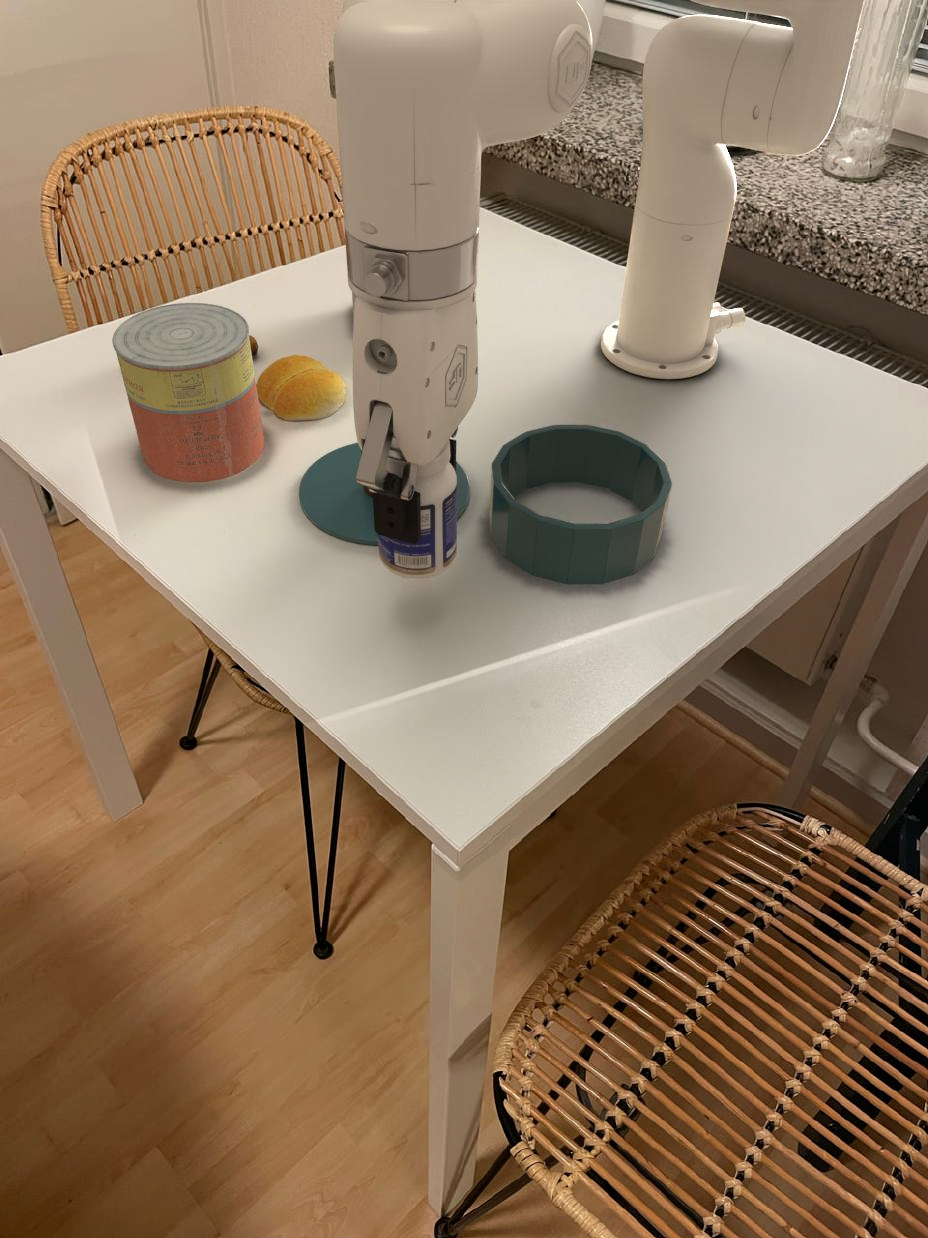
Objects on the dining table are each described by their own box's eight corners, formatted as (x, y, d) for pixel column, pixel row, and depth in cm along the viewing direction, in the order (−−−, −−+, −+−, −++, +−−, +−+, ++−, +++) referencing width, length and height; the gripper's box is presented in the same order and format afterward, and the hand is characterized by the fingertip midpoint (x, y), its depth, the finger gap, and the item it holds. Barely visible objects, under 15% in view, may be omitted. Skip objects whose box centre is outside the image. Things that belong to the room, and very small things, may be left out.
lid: (430, 435, 92) (429, 373, 87) (497, 524, 82) (501, 461, 77) (279, 470, 87) (270, 407, 83) (332, 569, 77) (325, 504, 73)
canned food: (187, 409, 94) (163, 293, 86) (288, 434, 91) (273, 316, 83) (117, 470, 87) (83, 349, 78) (225, 499, 84) (202, 377, 75)
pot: (603, 468, 88) (612, 410, 84) (691, 561, 79) (706, 501, 75) (462, 505, 84) (463, 445, 80) (538, 608, 75) (544, 547, 70)
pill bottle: (424, 522, 73) (423, 409, 66) (472, 561, 70) (476, 445, 63) (362, 552, 70) (354, 437, 63) (409, 593, 67) (406, 477, 60)
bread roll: (295, 435, 91) (291, 399, 88) (246, 397, 96) (240, 361, 93) (365, 406, 95) (363, 370, 92) (314, 370, 100) (310, 335, 97)
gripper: (414, 335, 48) (418, 600, 60) (521, 213, 59) (506, 456, 72) (281, 308, 49) (312, 571, 62) (410, 195, 61) (414, 435, 74)
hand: (416, 507), depth 67 cm, fingers closed on pill bottle, 5 cm apart
